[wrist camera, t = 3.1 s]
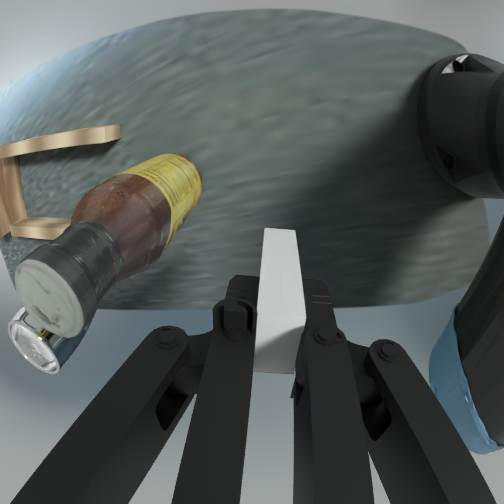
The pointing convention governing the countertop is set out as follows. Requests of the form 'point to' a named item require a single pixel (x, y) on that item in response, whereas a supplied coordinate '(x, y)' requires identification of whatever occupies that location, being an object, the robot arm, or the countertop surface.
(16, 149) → the bracket
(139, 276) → the countertop surface
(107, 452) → the robot arm
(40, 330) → the beer glass
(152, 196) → the sauce bottle
